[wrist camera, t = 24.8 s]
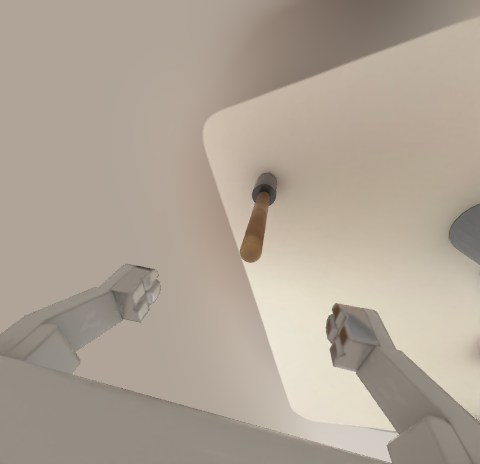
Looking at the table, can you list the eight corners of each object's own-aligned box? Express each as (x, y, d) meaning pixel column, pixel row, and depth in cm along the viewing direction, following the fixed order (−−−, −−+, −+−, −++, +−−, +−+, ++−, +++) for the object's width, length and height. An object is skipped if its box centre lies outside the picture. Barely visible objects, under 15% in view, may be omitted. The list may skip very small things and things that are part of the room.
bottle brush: (256, 191, 29) (226, 271, 13) (258, 171, 27) (228, 235, 12) (275, 193, 28) (268, 278, 13) (278, 173, 27) (275, 242, 11)
